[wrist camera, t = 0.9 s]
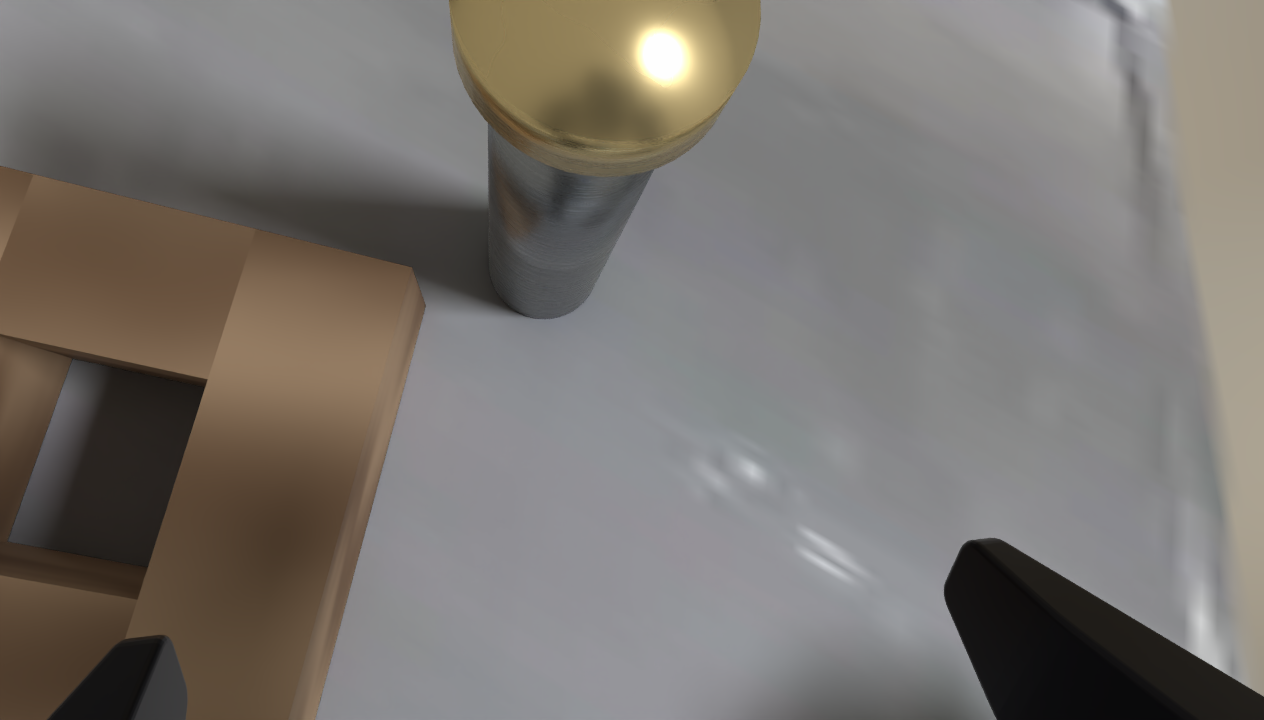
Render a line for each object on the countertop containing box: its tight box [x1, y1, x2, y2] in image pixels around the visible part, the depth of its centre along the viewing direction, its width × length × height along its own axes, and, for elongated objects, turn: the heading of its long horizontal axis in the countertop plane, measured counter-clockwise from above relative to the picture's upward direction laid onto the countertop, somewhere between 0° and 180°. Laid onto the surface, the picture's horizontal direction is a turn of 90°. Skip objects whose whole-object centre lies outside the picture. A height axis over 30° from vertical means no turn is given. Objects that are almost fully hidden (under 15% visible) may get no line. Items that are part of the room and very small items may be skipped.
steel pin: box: [449, 0, 761, 319], centre depth 17 cm, size 4×4×13 cm
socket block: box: [0, 166, 426, 720], centre depth 18 cm, size 12×12×4 cm
